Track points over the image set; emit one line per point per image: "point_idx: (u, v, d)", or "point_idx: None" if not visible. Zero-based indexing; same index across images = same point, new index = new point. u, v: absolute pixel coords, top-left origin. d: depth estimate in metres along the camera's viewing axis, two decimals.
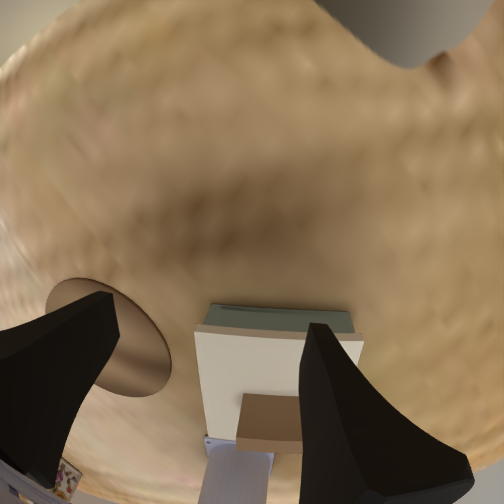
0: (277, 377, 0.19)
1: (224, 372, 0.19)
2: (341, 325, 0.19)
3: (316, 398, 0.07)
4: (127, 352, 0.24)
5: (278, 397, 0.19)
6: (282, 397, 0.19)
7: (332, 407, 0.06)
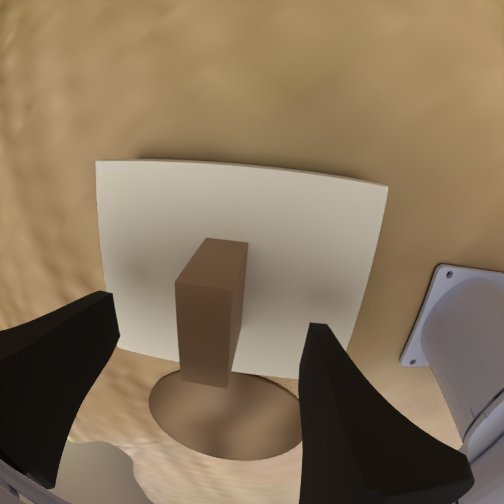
0: (163, 275, 0.14)
1: (167, 335, 0.15)
2: None
3: (316, 398, 0.07)
4: (227, 406, 0.22)
5: None
6: None
7: (332, 407, 0.06)
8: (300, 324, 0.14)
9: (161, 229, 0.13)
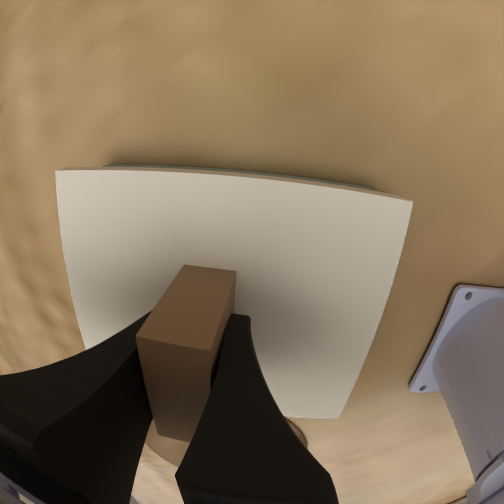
0: (137, 306, 0.11)
1: None
2: None
3: None
4: None
5: None
6: None
7: None
8: (300, 363, 0.11)
9: (131, 253, 0.10)
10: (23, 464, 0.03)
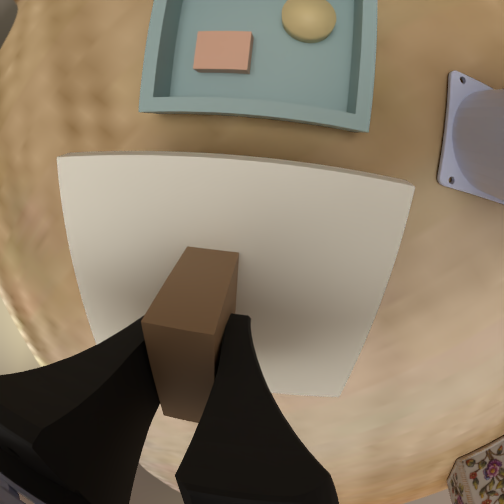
0: (141, 287, 0.11)
1: None
2: None
3: None
4: None
5: None
6: None
7: None
8: (302, 342, 0.12)
9: (134, 236, 0.10)
10: (23, 464, 0.03)
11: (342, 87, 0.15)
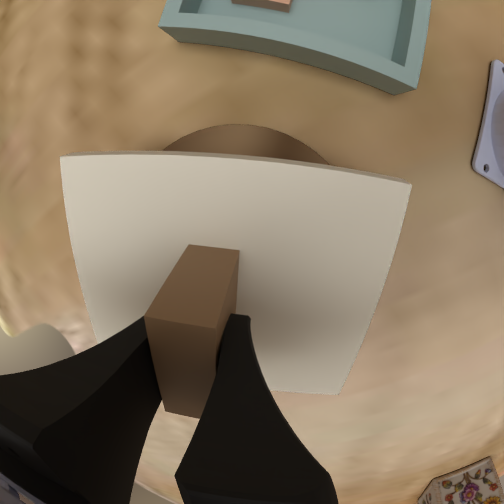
0: (143, 285, 0.12)
1: None
2: None
3: None
4: None
5: None
6: None
7: None
8: (301, 339, 0.12)
9: (136, 234, 0.10)
10: (23, 464, 0.03)
11: (387, 45, 0.12)
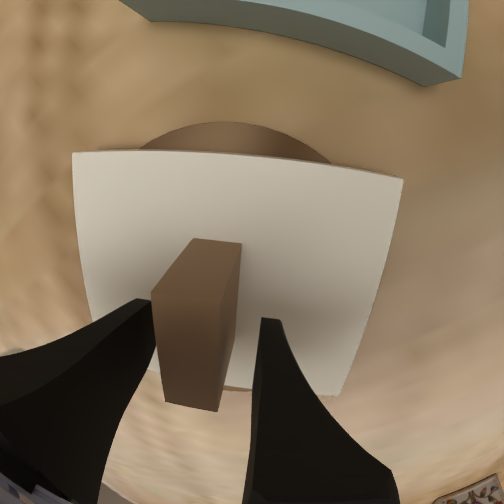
0: (147, 280, 0.12)
1: None
2: None
3: (257, 393, 0.07)
4: None
5: None
6: None
7: (259, 402, 0.06)
8: (301, 335, 0.12)
9: (143, 228, 0.11)
10: None
11: (415, 24, 0.08)
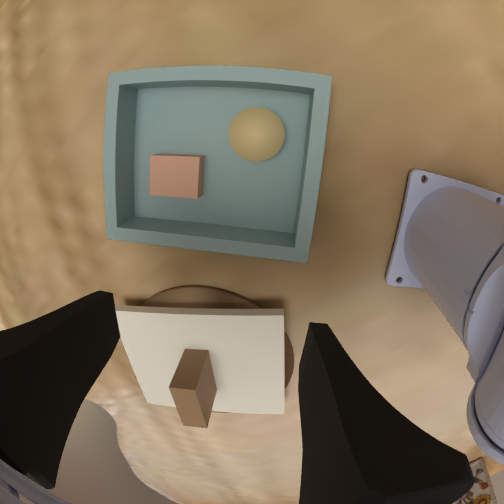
0: (166, 366, 0.22)
1: None
2: None
3: (316, 398, 0.07)
4: None
5: None
6: None
7: (332, 407, 0.06)
8: (250, 386, 0.22)
9: (159, 345, 0.21)
10: None
11: (290, 205, 0.18)
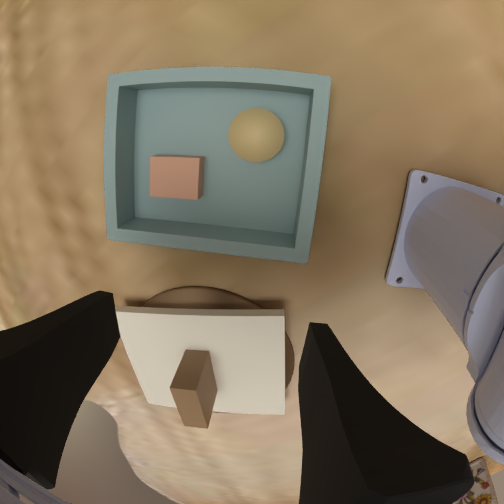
0: (167, 367, 0.22)
1: None
2: None
3: (316, 398, 0.07)
4: None
5: None
6: None
7: (332, 407, 0.06)
8: (251, 386, 0.22)
9: (160, 345, 0.21)
10: None
11: (290, 205, 0.18)
